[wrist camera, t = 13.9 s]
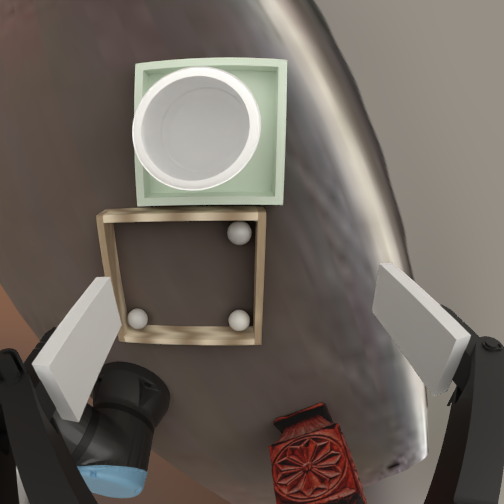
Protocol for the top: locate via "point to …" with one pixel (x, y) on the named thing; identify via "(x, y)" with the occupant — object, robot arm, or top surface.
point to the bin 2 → (183, 333)
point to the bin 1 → (267, 151)
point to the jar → (196, 128)
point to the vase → (313, 461)
